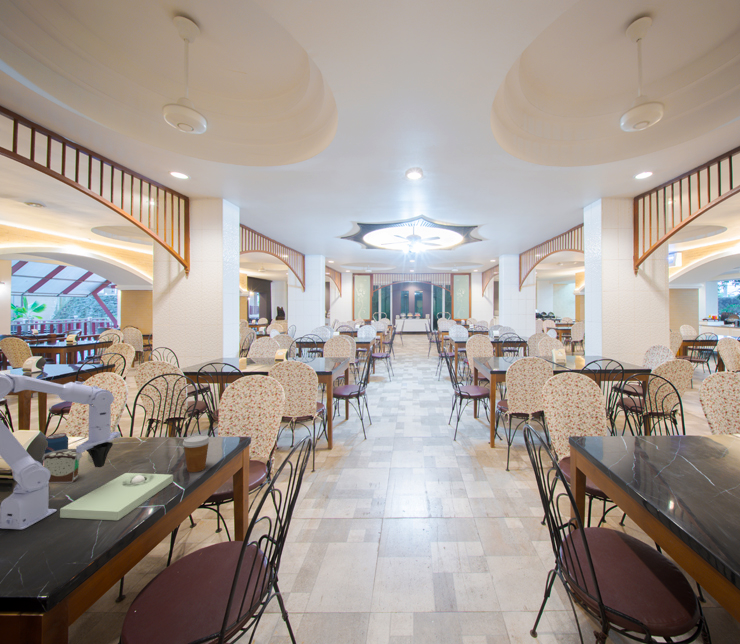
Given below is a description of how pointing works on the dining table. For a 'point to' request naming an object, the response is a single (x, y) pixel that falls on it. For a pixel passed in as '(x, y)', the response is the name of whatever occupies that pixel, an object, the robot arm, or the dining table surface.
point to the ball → (138, 479)
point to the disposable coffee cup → (196, 452)
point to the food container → (62, 465)
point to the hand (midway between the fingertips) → (99, 466)
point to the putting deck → (116, 497)
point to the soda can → (56, 442)
